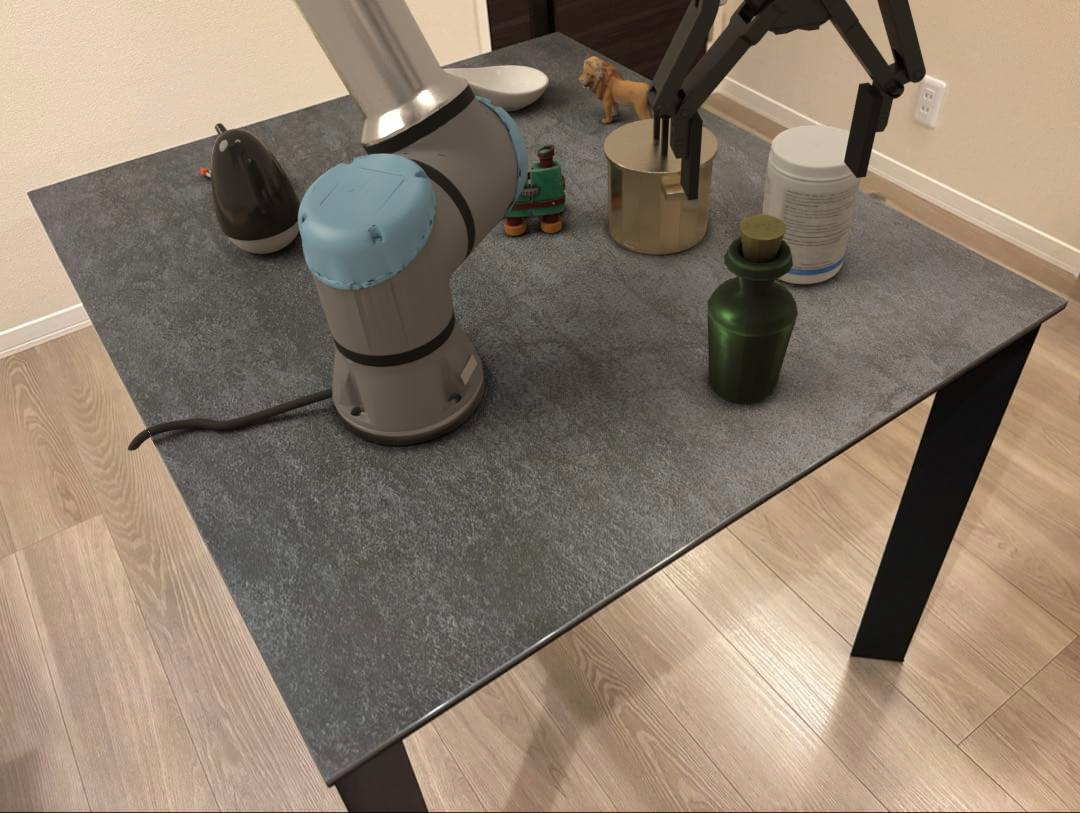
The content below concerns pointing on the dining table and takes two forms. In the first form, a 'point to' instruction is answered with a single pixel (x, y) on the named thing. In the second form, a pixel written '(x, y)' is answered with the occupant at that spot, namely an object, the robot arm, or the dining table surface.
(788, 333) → the potion bottle
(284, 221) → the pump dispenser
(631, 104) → the lion figurine
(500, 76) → the spoon rest
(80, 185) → the dining table surface
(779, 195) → the supplement tub
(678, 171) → the pot lid
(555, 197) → the toy field glasses
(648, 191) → the pot
